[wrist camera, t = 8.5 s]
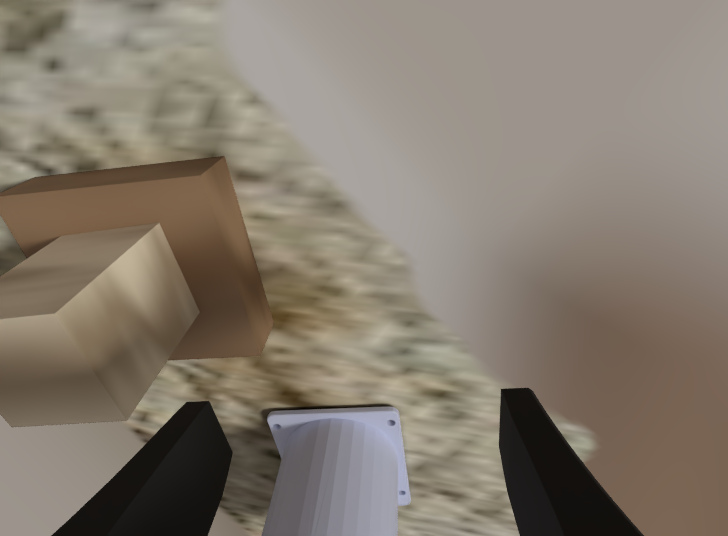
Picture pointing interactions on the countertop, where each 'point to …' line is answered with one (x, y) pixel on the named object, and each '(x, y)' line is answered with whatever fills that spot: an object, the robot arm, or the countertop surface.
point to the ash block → (89, 326)
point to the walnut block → (181, 228)
